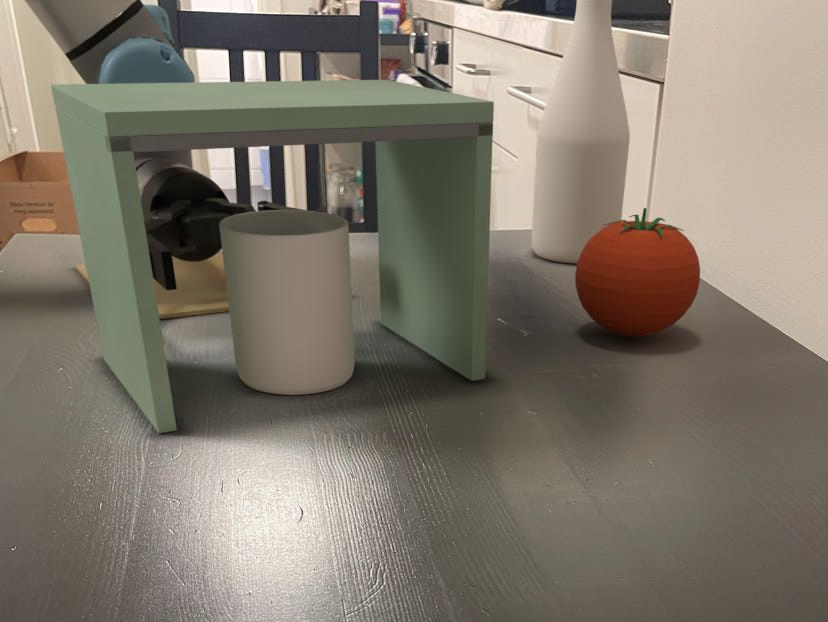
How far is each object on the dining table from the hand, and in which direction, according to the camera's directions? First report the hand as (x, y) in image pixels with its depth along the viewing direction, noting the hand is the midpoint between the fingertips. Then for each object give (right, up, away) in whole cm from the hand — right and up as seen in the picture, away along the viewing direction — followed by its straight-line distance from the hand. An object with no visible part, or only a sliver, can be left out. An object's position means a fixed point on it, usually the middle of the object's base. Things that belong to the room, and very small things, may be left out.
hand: (258, 262), depth 74 cm
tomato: (+30, -3, +9) cm, 31 cm away
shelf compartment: (+3, -9, -1) cm, 9 cm away
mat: (-9, +5, +19) cm, 22 cm away
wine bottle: (+27, +13, +33) cm, 44 cm away
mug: (+3, -9, -1) cm, 9 cm away
